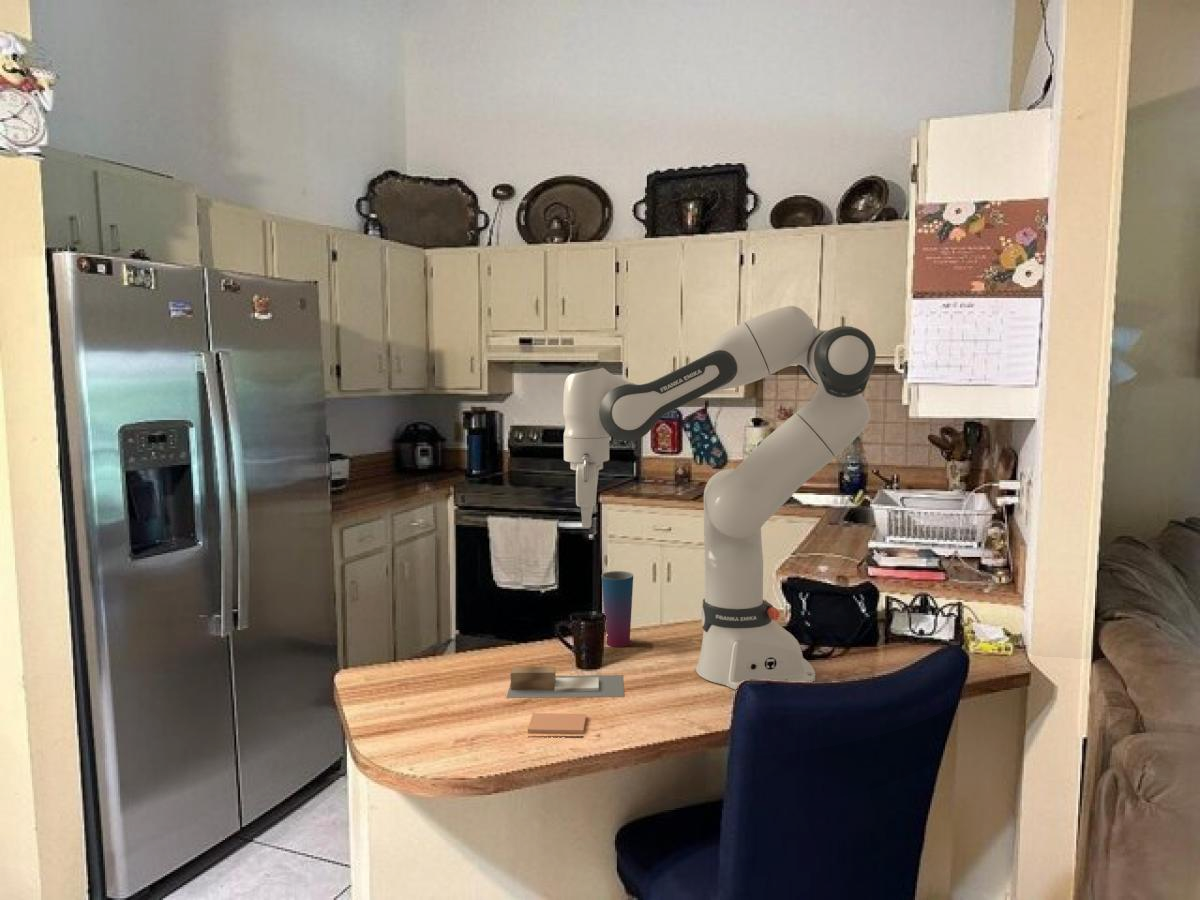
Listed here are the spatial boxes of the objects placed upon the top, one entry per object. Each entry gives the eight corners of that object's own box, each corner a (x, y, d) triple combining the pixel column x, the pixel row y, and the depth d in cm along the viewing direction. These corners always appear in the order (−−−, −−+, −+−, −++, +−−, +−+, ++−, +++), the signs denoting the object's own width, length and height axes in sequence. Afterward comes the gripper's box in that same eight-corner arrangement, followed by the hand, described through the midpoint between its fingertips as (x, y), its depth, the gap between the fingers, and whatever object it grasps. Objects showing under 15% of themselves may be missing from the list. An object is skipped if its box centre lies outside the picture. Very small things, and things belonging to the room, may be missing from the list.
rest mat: (622, 679, 155) (622, 675, 154) (624, 700, 145) (624, 696, 144) (512, 680, 155) (512, 676, 154) (506, 702, 145) (506, 697, 145)
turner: (510, 692, 147) (510, 675, 147) (513, 681, 152) (512, 664, 152) (598, 691, 147) (598, 674, 147) (598, 680, 152) (598, 664, 152)
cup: (634, 638, 177) (634, 571, 176) (632, 649, 171) (632, 579, 169) (603, 637, 178) (603, 570, 176) (600, 648, 171) (599, 579, 170)
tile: (533, 723, 137) (586, 724, 136) (527, 740, 131) (583, 740, 130) (532, 713, 137) (586, 713, 136) (527, 729, 131) (583, 730, 130)
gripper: (602, 457, 147) (603, 532, 148) (602, 446, 167) (603, 512, 168) (567, 457, 147) (568, 533, 148) (572, 446, 167) (572, 512, 168)
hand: (587, 521), depth 158 cm, fingers open, 8 cm apart
